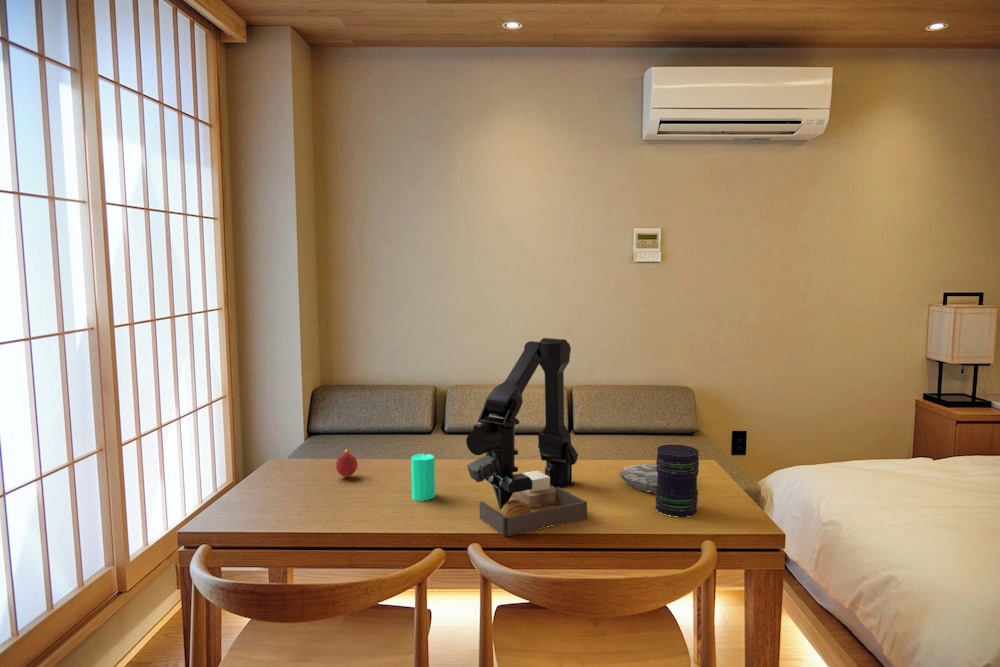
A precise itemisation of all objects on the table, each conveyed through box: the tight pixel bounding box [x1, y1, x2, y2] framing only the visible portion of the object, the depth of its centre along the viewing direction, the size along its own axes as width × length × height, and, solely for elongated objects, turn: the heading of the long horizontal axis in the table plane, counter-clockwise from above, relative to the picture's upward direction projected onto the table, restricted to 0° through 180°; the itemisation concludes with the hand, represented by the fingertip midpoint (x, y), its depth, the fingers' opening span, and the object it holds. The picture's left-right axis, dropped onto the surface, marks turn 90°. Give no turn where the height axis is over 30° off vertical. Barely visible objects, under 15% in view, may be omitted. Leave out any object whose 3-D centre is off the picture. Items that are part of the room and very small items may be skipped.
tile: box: [522, 469, 550, 492], centre depth 171 cm, size 6×6×3 cm
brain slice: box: [619, 463, 658, 494], centre depth 183 cm, size 20×17×3 cm
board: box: [511, 485, 557, 509], centre depth 172 cm, size 9×11×3 cm
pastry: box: [500, 499, 532, 517], centre depth 157 cm, size 9×7×4 cm
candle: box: [410, 453, 436, 502], centre depth 172 cm, size 6×6×12 cm
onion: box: [335, 449, 358, 479], centre depth 187 cm, size 6×6×8 cm
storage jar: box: [655, 444, 700, 517], centre depth 163 cm, size 10×10×15 cm
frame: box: [479, 487, 588, 538], centre depth 158 cm, size 22×12×4 cm, turn 118°
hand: (502, 509), depth 162 cm, fingers closed
